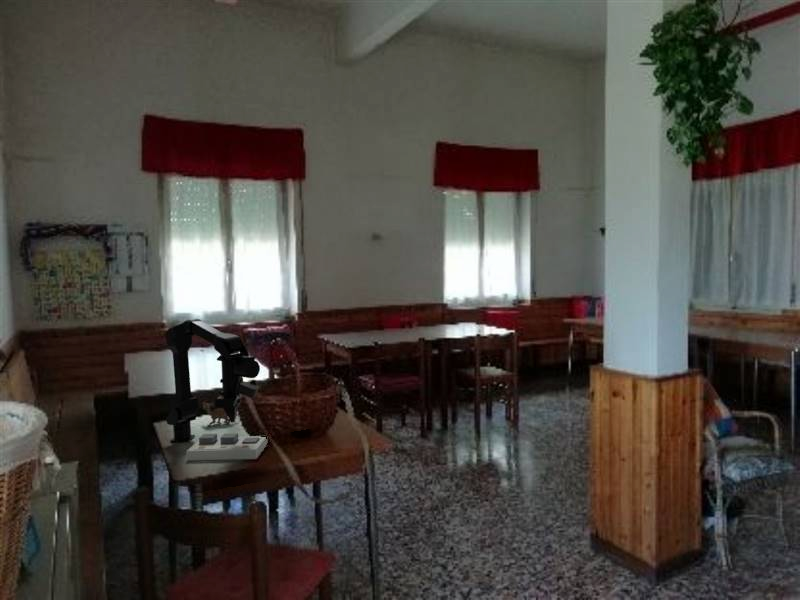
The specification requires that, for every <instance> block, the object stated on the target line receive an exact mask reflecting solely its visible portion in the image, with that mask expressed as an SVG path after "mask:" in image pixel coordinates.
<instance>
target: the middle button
mask: <svg viewBox="0 0 800 600" xmlns="http://www.w3.org/2000/svg"><path fill="white" fill-rule="evenodd" d="M220 437H221V438H220V439H221V444H235V443H236V442H237V441H238V437H239V433H236V432H235V433H224V434H223V435H221V436H220Z"/></svg>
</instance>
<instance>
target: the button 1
mask: <svg viewBox="0 0 800 600" xmlns="http://www.w3.org/2000/svg"><path fill="white" fill-rule="evenodd" d="M217 437H218V433H203V434H202V435H201V436H200V437H198V441H199V445H213V444H214V443H216V442H217Z"/></svg>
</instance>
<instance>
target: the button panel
mask: <svg viewBox="0 0 800 600" xmlns="http://www.w3.org/2000/svg"><path fill="white" fill-rule="evenodd" d="M261 436H262V435H256V436H255V435H254V436H253V435H249V436H246V435H245V436H238V441H237V442H236V443H235V444H221V439H220V438H221V437H222V436H217V442H216V443H214V444H213V445H199V440H198V441H196V442H195V443H194V444H192V445H191V446H190V447H189V448H188V449H187V450H186V461H219V460H221V461H222V460H257V459H258V458H259V456H260V455H261V454H262V453H263V451H264V450H265V449H266V448H265V447H267V446H268V445H267V443H268V438H267V439H266V437H261ZM257 437H259V441H258V442H257V443H256V444H242V442H243V440H244V439H245V438H257ZM266 445H267V446H266ZM264 448H265V449H264ZM261 452H262V453H261Z"/></svg>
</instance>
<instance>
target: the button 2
mask: <svg viewBox="0 0 800 600" xmlns="http://www.w3.org/2000/svg"><path fill="white" fill-rule="evenodd" d="M258 441H259V437H257V438H245V439H244V440H243V442H242V444H256V443H257V442H258Z"/></svg>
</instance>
